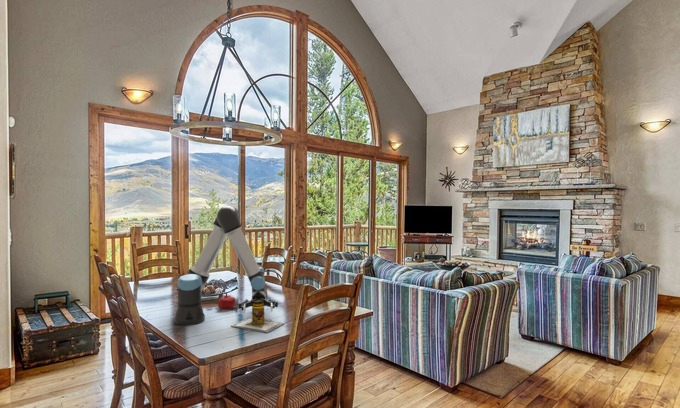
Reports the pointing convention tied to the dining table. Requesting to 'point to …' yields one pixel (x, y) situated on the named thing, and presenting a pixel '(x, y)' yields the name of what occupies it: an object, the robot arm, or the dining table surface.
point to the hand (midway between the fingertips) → (258, 309)
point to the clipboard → (264, 328)
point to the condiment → (257, 313)
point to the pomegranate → (226, 302)
